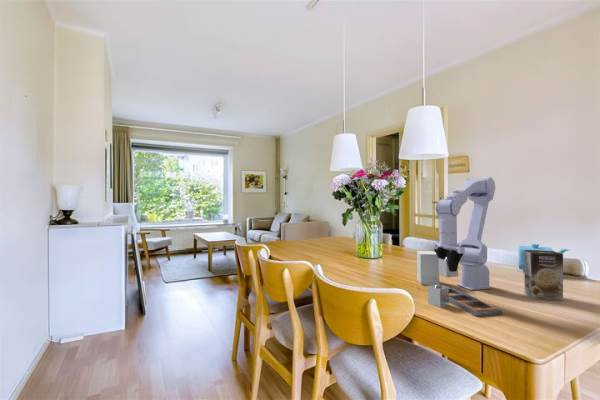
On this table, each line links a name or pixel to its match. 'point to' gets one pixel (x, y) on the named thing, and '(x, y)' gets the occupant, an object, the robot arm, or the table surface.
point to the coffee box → (543, 275)
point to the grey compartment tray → (472, 304)
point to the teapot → (533, 247)
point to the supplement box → (427, 267)
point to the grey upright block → (438, 295)
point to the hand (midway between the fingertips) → (448, 269)
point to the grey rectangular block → (446, 268)
